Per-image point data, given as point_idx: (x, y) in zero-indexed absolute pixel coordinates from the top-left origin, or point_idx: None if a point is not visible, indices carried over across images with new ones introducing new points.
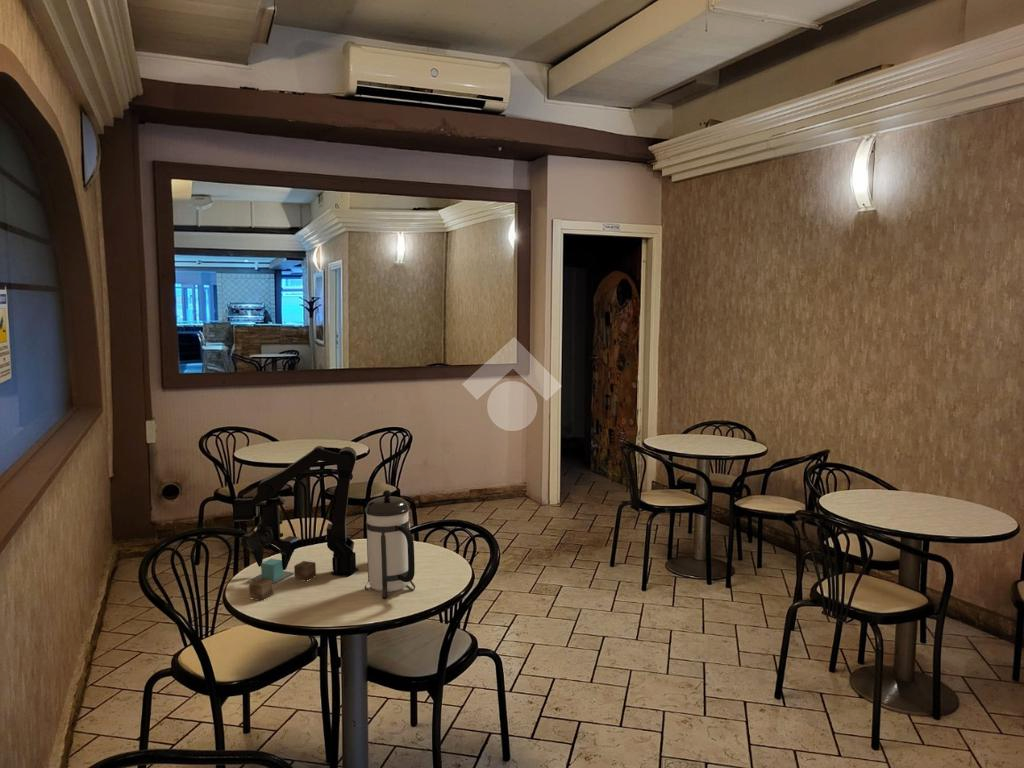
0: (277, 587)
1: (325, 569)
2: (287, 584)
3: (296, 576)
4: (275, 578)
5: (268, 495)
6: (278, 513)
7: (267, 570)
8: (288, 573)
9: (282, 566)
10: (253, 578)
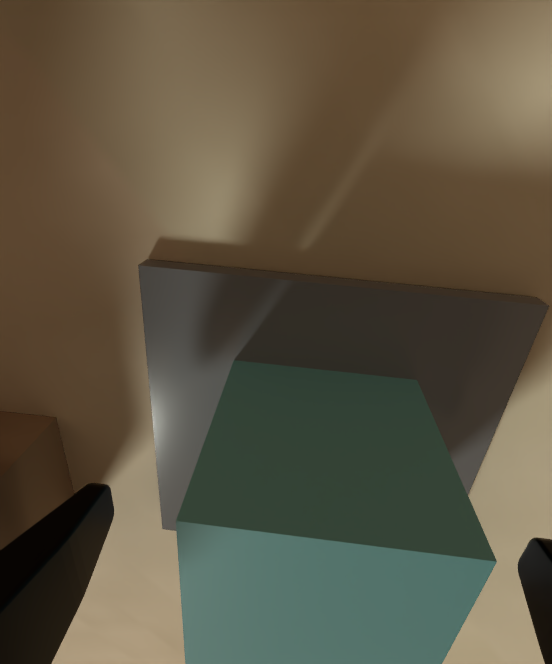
0: (41, 175)
1: None
2: (14, 294)
3: (8, 440)
4: None
5: None
6: None
7: (323, 441)
8: None
9: (65, 526)
10: (518, 333)
